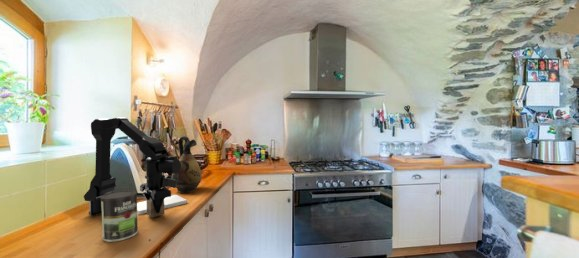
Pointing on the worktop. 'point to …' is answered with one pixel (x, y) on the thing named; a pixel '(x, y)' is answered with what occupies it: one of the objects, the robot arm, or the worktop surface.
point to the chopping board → (168, 202)
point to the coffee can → (119, 215)
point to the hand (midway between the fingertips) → (155, 211)
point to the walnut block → (151, 210)
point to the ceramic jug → (187, 168)
